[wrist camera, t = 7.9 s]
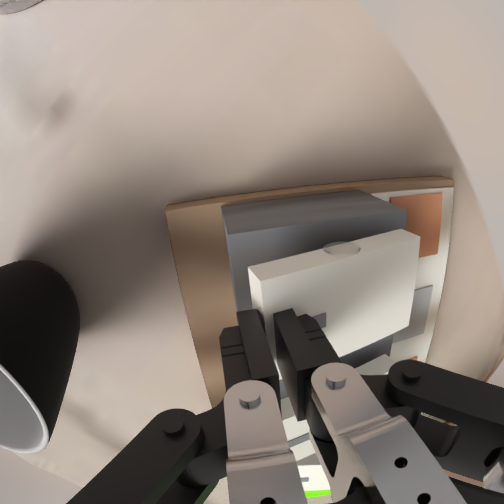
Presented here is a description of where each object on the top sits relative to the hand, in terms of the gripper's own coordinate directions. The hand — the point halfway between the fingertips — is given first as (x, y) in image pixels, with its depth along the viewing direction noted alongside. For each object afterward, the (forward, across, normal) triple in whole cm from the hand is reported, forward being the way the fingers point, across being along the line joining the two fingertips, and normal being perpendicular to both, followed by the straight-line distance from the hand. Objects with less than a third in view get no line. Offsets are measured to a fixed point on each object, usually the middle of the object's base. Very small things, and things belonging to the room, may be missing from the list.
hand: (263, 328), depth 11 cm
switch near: (0, -3, 0) cm, 3 cm away
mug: (+9, +16, +3) cm, 18 cm away
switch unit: (+9, -6, +7) cm, 12 cm away
